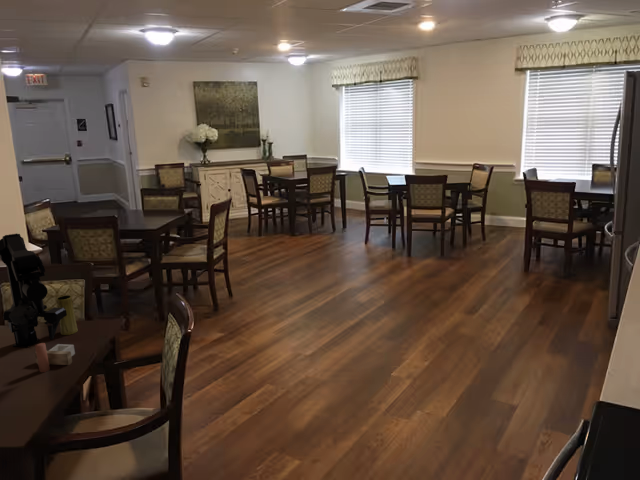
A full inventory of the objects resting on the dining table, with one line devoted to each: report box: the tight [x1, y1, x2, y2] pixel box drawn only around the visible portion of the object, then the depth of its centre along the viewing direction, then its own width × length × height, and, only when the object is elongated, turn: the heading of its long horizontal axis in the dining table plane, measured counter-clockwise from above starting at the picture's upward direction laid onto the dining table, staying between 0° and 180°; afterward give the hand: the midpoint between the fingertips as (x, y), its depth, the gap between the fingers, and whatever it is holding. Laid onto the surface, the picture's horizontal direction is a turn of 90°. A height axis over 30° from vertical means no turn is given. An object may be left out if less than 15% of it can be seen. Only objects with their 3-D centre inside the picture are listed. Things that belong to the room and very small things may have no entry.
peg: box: [34, 342, 51, 373], centre depth 168 cm, size 3×3×9 cm
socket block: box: [48, 343, 76, 358], centre depth 178 cm, size 6×6×4 cm
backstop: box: [34, 350, 73, 366], centre depth 174 cm, size 12×2×4 cm, turn 81°
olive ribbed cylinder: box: [55, 294, 79, 336], centre depth 198 cm, size 6×6×14 cm
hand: (39, 338), depth 167 cm, fingers open, 9 cm apart
